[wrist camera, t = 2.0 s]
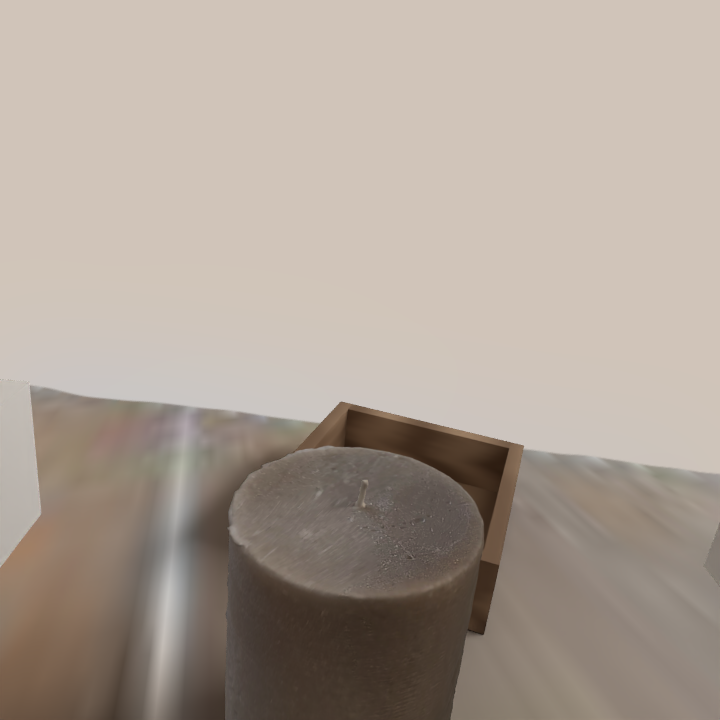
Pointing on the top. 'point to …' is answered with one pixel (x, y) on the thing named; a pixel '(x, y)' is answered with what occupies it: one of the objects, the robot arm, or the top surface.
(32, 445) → the robot arm
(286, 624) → the pillar candle
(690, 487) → the top surface
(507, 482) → the walnut crate
